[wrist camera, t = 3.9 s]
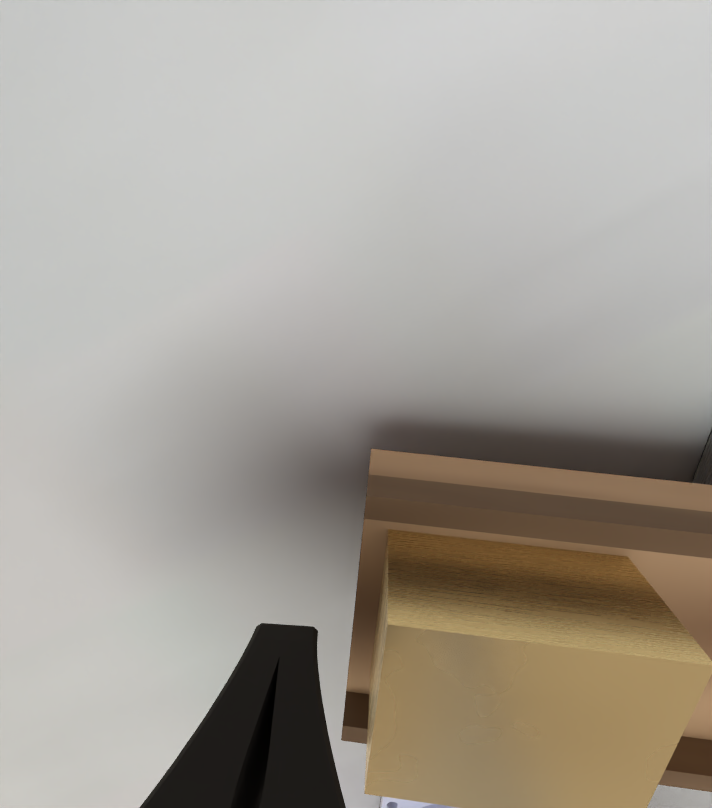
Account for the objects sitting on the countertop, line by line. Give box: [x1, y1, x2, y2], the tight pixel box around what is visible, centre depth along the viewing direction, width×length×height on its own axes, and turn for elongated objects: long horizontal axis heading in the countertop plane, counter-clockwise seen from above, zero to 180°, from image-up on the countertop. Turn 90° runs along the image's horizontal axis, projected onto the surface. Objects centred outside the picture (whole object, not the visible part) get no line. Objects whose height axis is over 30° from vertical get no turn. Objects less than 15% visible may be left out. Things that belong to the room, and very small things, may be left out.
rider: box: [364, 529, 712, 808], centre depth 10 cm, size 5×6×3 cm
